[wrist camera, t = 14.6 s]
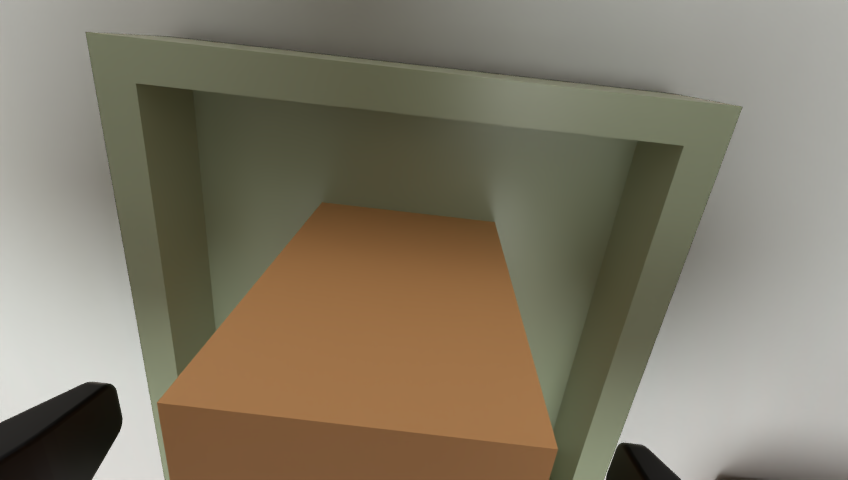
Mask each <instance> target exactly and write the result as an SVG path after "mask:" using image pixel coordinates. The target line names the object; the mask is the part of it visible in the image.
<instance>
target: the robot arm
mask: <svg viewBox="0 0 848 480" xmlns="http://www.w3.org/2000/svg"><path fill="white" fill-rule="evenodd" d="M121 426H122V413H121V409H120V404H119V399H118V395H117V390H116V388H115V387H114V386H113V385H112V384H108V383H99V382H87V383H84V384H82V385H79V386H77V387H75V388H73V389H71V390H69V391H67V392H65V393H62V394H60V395H58V396H56V397H54V398H52V399H50V400H48V401H45V402H43V403H41V404H39V405H37V406H35V407H33V408H31V409H28V410H26V411H24V412H22V413H20V414H18V415H16V416H14V417H11V418H9V419H7V420H5V421H3V422H1V423H0V480H92V478H93V477H94V475H95V473H96V472H97V470H98V468H99V466H100V465H101V463H102V461H103V460H104V458H105V456H106V454H107V453H108V451H109V449H110V448H111V446H112V444H113V442H114V441H115V439H116V437H117V435H118V434H119V432H120V429H121ZM606 480H681V479H680V478H679V477H678V476H677V475H676V474H675V473H674V472H673V471H672V470H670V469H669V468H668V467H667V466H666V465H665V464H664V463H663V462H662V461H661V460H660V459H659V458H658V457H657V456H656V455H655V454H653V453H652V452H651V451H650V450H649V449H648V448H647V447H645V446H643V445H639V444H631V443H621V444H619V445H618V447H617V449H616V451H615V454H614V457H613V459H612V462H611V465H610V467H609V470H608V473H607V477H606Z"/></svg>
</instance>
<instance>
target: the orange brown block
mask: <svg viewBox="0 0 848 480" xmlns="http://www.w3.org/2000/svg"><path fill="white" fill-rule="evenodd" d="M157 407H158V413H159V419H160V425H161V431H162V437H163V442H164V448H165V454H166V460H167V466H168V472H169V478H170V480H549V478H550V474H551V471H552V468H553V465H554V461H555V458H556V455H557V451H558V447H557V443H556V440H555V436H554V433H553V429H552V425H551V422H550V418H549V415H548V411H547V408H546V404H545V400H544V397H543V393H542V390H541V386H540V382H539V379H538V375H537V372H536V368H535V365H534V361H533V357H532V354H531V350H530V347H529V343H528V340H527V336H526V332H525V329H524V325H523V322H522V318H521V314H520V311H519V307H518V304H517V300H516V297H515V293H514V289H513V286H512V282H511V279H510V275H509V271H508V268H507V264H506V261H505V257H504V254H503V250H502V246H501V243H500V239H499V236H498V232H497V228H496V225H495V222H490V221H481V220H472V219H464V218H455V217H446V216H437V215H429V214H420V213H411V212H403V211H394V210H385V209H376V208H368V207H359V206H350V205H341V204H333V203H324V202H322V203H321V204H320V205H319V207H318V208H317V209H316V210H315V211H314V213H313V214H312V215H311V216H310V217H309V219H308V220H307V221H306V222H305V224H304V225H303V226H302V227H301V228H300V230H299V231H298V232H297V233H296V234H295V236H294V237H293V238H292V239H291V240H290V242H289V243H288V244H287V245H286V247H285V248H284V249H283V250H282V251H281V253H280V254H279V255H278V256H277V257H276V259H275V260H274V261H273V262H272V264H271V265H270V266H269V267H268V268H267V270H266V271H265V272H264V273H263V274H262V276H261V277H260V278H259V279H258V281H257V282H256V283H255V284H254V285H253V287H252V288H251V289H250V290H249V291H248V293H247V294H246V295H245V296H244V297H243V299H242V300H241V301H240V302H239V304H238V305H237V306H236V307H235V308H234V310H233V311H232V312H231V313H230V314H229V316H228V317H227V318H226V319H225V321H224V322H223V323H222V324H221V325H220V327H219V328H218V329H217V330H216V331H215V333H214V334H213V335H212V336H211V338H210V339H209V340H208V341H207V342H206V344H205V345H204V346H203V347H202V348H201V350H200V351H199V352H198V353H197V355H196V356H195V357H194V358H193V359H192V361H191V362H190V363H189V364H188V365H187V367H186V368H185V369H184V370H183V371H182V373H181V374H180V375H179V376H178V378H177V379H176V380H175V381H174V382H173V384H172V385H171V386H170V387H169V388H168V390H167V391H166V392H165V393H164V395H163V396H162V397H161V398H160V399H159V401H158V402H157Z"/></svg>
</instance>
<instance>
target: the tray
mask: <svg viewBox="0 0 848 480" xmlns="http://www.w3.org/2000/svg"><path fill="white" fill-rule="evenodd" d="M86 38H87V43H88V49H89V55H90V60H91V66H92V72H93V77H94V83H95V89H96V94H97V100H98V106H99V111H100V117H101V123H102V128H103V134H104V140H105V145H106V151H107V156H108V162H109V168H110V173H111V179H112V185H113V190H114V196H115V202H116V207H117V213H118V219H119V224H120V230H121V236H122V241H123V247H124V252H125V258H126V264H127V269H128V275H129V281H130V286H131V292H132V298H133V303H134V309H135V315H136V320H137V326H138V332H139V337H140V343H141V349H142V354H143V360H144V365H145V371H146V377H147V382H148V388H149V394H150V399H151V405H152V411H153V416H154V422H155V428H156V433H157V439H158V445H159V450H160V456H161V462H162V467H163V473H164V478H165V480H170V478H169V472H168V466H167V460H166V454H165V448H164V442H163V437H162V431H161V425H160V419H159V413H158V407H157V402H158V401H159V399H160V398H161V397H162V396H163V395H164V393H165V392H166V391H167V390H168V388H169V387H170V386H171V385H172V384H173V382H174V381H175V380H176V379H177V378H178V376H179V375H180V374H181V373H182V371H183V370H184V369H185V368H186V367H187V365H188V364H189V363H190V362H191V361H192V359H193V358H194V357H195V356H196V355H197V353H198V352H199V351H200V350H201V348H202V347H203V346H204V345H205V344H206V342H207V341H208V340H209V339H210V338H211V336H212V335H213V334H214V333H215V331H216V330H217V329H218V328H219V327H220V325H221V324H222V323H223V322H224V321H225V319H226V318H227V317H228V316H229V314H230V313H231V312H232V311H233V310H234V308H235V307H236V306H237V305H238V304H239V302H240V301H241V300H242V299H243V297H244V296H245V295H246V294H247V293H248V291H249V290H250V289H251V288H252V287H253V285H254V284H255V283H256V282H257V281H258V279H259V278H260V277H261V276H262V274H263V273H264V272H265V271H266V270H267V268H268V267H269V266H270V265H271V264H272V262H273V261H274V260H275V259H276V257H277V256H278V255H279V254H280V253H281V251H282V250H283V249H284V248H285V247H286V245H287V244H288V243H289V242H290V240H291V239H292V238H293V237H294V236H295V234H296V233H297V232H298V231H299V230H300V228H301V227H302V226H303V225H304V224H305V222H306V221H307V220H308V219H309V217H310V216H311V215H312V214H313V213H314V211H315V210H316V209H317V208H318V207H319V205H320V204H321V203H322V202H324V203H333V204H341V205H350V206H359V207H368V208H376V209H385V210H394V211H403V212H411V213H420V214H429V215H437V216H446V217H455V218H464V219H472V220H481V221H490V222H495V225H496V228H497V232H498V236H499V239H500V243H501V246H502V250H503V254H504V257H505V261H506V264H507V268H508V271H509V275H510V279H511V282H512V286H513V289H514V293H515V297H516V300H517V304H518V307H519V311H520V314H521V318H522V322H523V325H524V329H525V332H526V336H527V340H528V343H529V347H530V350H531V354H532V357H533V361H534V365H535V368H536V372H537V375H538V379H539V382H540V386H541V390H542V393H543V397H544V400H545V404H546V408H547V411H548V415H549V418H550V422H551V425H552V429H553V433H554V436H555V440H556V443H557V447H558V451H557V455H556V458H555V461H554V465H553V468H552V471H551V474H550V478H549V480H604V478H605V475H606V472H607V470H608V467H609V464H610V461H611V459H612V456H613V453H614V451H615V448H616V445H617V443H618V440H619V437H620V435H621V432H622V429H623V427H624V424H625V421H626V419H627V416H628V413H629V410H630V408H631V405H632V402H633V400H634V397H635V394H636V392H637V389H638V386H639V384H640V381H641V378H642V376H643V373H644V370H645V367H646V365H647V362H648V359H649V357H650V354H651V351H652V349H653V346H654V343H655V341H656V338H657V335H658V333H659V330H660V327H661V325H662V322H663V319H664V316H665V314H666V311H667V308H668V306H669V303H670V300H671V298H672V295H673V292H674V290H675V287H676V284H677V282H678V279H679V276H680V274H681V271H682V268H683V265H684V263H685V260H686V257H687V255H688V252H689V249H690V247H691V244H692V241H693V239H694V236H695V233H696V231H697V228H698V225H699V223H700V220H701V217H702V214H703V212H704V209H705V206H706V204H707V201H708V198H709V196H710V193H711V190H712V188H713V185H714V182H715V180H716V177H717V174H718V171H719V169H720V166H721V163H722V161H723V158H724V155H725V153H726V150H727V147H728V145H729V142H730V139H731V137H732V134H733V131H734V129H735V126H736V123H737V120H738V118H739V115H740V112H741V110H742V107H741V106H736V105H731V104H725V103H720V102H715V101H710V100H704V99H699V98H694V97H688V96H683V95H678V94H671V93H662V92H653V91H644V90H636V89H627V88H618V87H609V86H600V85H592V84H583V83H574V82H565V81H556V80H548V79H539V78H530V77H521V76H512V75H504V74H495V73H486V72H477V71H468V70H460V69H451V68H442V67H433V66H424V65H416V64H407V63H398V62H389V61H380V60H372V59H363V58H354V57H345V56H336V55H328V54H319V53H310V52H301V51H292V50H283V49H275V48H266V47H257V46H248V45H239V44H231V43H222V42H213V41H204V40H195V39H187V38H178V37H169V36H151V35H132V34H113V33H93V32H86Z"/></svg>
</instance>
